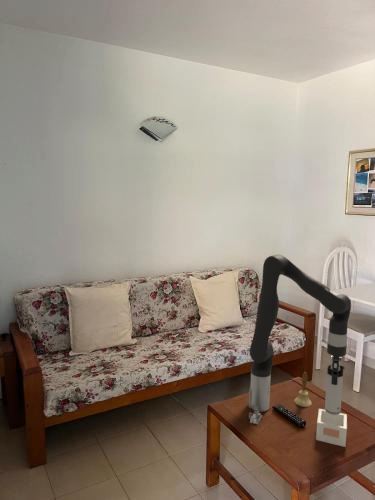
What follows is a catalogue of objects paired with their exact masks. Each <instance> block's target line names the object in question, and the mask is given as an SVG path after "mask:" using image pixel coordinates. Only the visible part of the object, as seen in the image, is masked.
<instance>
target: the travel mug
mask: <svg viewBox="0 0 375 500" xmlns="http://www.w3.org/2000/svg"><path fill="white" fill-rule="evenodd" d="M326 370H327V371H326V382H325V383H326V385H325V401H324V410H325V411H326V412H328V413H329V414H333V415H337V414H340V413H342V412H341V409H342V395H343V382H344V370H345V367H344V366H343V365H340V371H338V379H337V385H333V384H331V382H332V375H331V374H332V370H331V364H330V365H328V367H327V369H326ZM333 373H336V374H337V372H333Z"/></svg>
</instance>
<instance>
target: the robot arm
mask: <svg viewBox="0 0 375 500" xmlns="http://www.w3.org/2000/svg"><path fill="white" fill-rule="evenodd" d="M280 275H282V276H284V277H286V278H288V279H290V280H292V281H293V282H294V283H295V284H297V286H298V287H299V288H300V289H301V290H302V291H304V292H305V293H306V295H309V296H310V297H312V298H314V299H315V300H317V301H318V302H319V303H320V304H322V306H323V307H325V308H326V309H327V310H328V311H329V312H330V313H332V315H331V318H330V319H329V323H328V325H329V326H328V333H327V340H326V341H327V343H326V353H327V354H328V355H330V365H331V370H332V374H331V375H332V382H331V384H333V385H337V379H338V371H340V366H341V365H342V363H341V362H342V357H345V356H346V355H347V350H348V349H347V346H348V325H349V324H348V322H349V318H350V314H351V310H352V301H351V298H350V297H349V296H348V295H347V294H343V293H342V294H341V293H340V294H337V295H335V294H334V293H333V292H331V290H330V287H328V286H327V285H326V284H324V283H322V282H321V281H319V280H317V279H315V278H314V277H312V276H310V275H309V274H308V273H306V271H303V270H302V269H301V268H299V267H298V266H297V265H296V264H294V263H293V262H292V261H291V260H290V259H288V258H287V257H286V256H284V255H282V254H274V255H270V256H267V258H265V259H264V261H263V266H262V280H261V281H262V283H261V289H260V293H259V300H258V305H257V311H256V312H257V313H256V320H255V324H254V326H255V327H254V332H253V336H252V340H251V343H250V345H249V346H250V347H249V355H250V359H251V360H252V361H253V363H252V365H251V367H250V387H249V392H248V396H249V397H248V408H249V409H252V410H253V411H254V407H255V405H257V406H258V411H259V413H260V412H263V413H264V412H266V411H268V410H269V409H270V400H271V397H270V396H271V378H272V377H271V376H272V375H271V372H272V368H273V362H274V346H273V344H272V342H271V341H270V337H271V333H272V330H273V328H274V326H275V323H276V321H277V318H278V314H279V313H278V312H279V308H280V307H279V306H280V301H279V296H278V283H279V279H280ZM333 372H337V374H336V373H333Z"/></svg>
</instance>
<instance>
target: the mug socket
mask: <svg viewBox="0 0 375 500" xmlns="http://www.w3.org/2000/svg"><path fill="white" fill-rule="evenodd" d="M317 413H318V415H317V421H316V434H315V440H316V441H319V442H323V443H328V444H332V445H335V446H339V447H344V448H346V444H347V430H348V420H347V418H348V416H347V415H348V414H346V413H342V412H340V414H337V415H333V414H329V413H328V412H326V411H325V409H324V408H318V412H317Z"/></svg>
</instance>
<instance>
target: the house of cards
mask: <svg viewBox="0 0 375 500" xmlns="http://www.w3.org/2000/svg"><path fill="white" fill-rule="evenodd" d="M262 418H263V415H262V414H261V413H260V411H258V406H257V405H255V407H254V410H253V413H252V412H249V413H248V419H249V420H250V421H249V423H250V424H252V423H253V425H255V426H256V425H257V426H258V425H259V423H260V421H261V420H262Z"/></svg>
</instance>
